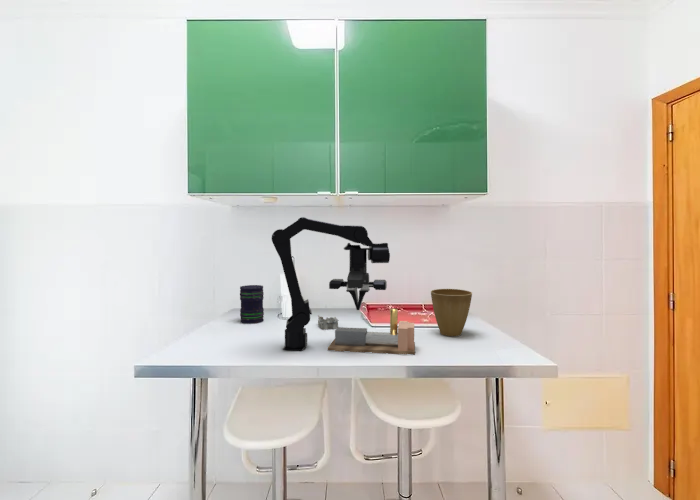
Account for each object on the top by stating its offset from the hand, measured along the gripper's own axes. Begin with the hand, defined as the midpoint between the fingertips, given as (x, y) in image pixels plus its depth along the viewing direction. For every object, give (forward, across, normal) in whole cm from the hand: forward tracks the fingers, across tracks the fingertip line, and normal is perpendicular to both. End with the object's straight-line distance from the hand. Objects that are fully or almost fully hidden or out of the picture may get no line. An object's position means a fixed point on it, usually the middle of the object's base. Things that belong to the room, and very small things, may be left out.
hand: (358, 310), depth 134 cm
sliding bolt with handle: (+10, +9, -2) cm, 13 cm away
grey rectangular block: (+11, -2, -2) cm, 11 cm away
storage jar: (+12, -50, +29) cm, 59 cm away
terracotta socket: (+11, +16, -2) cm, 20 cm away
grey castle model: (+12, -16, +25) cm, 32 cm away
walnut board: (+12, +5, -2) cm, 13 cm away
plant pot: (+12, +32, +20) cm, 40 cm away
